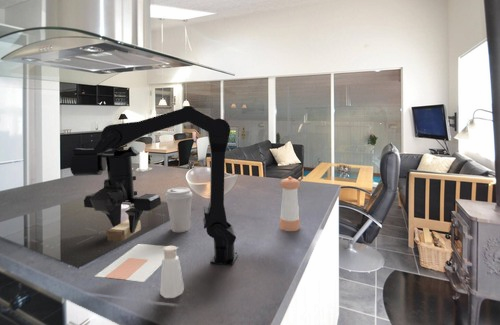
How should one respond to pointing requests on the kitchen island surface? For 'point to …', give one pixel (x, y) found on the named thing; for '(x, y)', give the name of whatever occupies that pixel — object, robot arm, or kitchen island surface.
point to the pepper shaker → (171, 274)
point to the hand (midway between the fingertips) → (125, 232)
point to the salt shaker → (290, 205)
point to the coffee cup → (179, 208)
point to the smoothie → (123, 214)
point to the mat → (136, 263)
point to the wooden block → (121, 231)
